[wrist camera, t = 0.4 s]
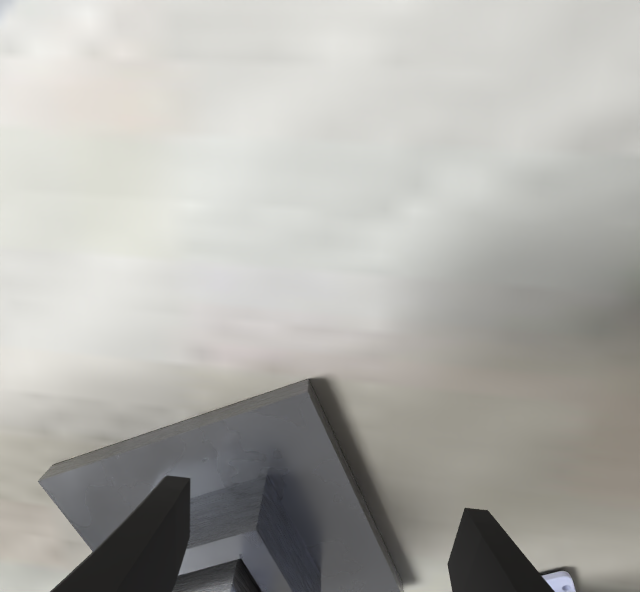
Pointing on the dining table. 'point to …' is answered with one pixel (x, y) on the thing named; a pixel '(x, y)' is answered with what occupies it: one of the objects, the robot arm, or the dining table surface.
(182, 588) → the steel column
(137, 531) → the robot arm
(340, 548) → the stand base
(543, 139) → the dining table surface
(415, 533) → the dining table surface
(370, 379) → the dining table surface
